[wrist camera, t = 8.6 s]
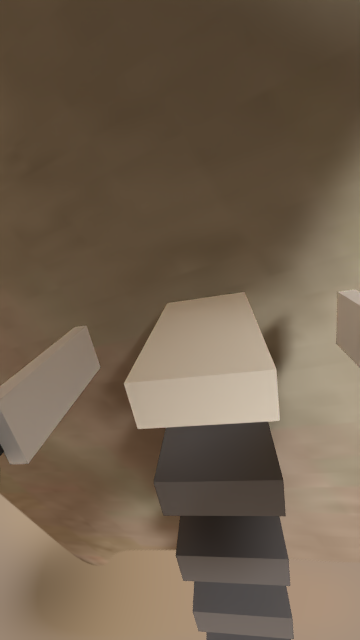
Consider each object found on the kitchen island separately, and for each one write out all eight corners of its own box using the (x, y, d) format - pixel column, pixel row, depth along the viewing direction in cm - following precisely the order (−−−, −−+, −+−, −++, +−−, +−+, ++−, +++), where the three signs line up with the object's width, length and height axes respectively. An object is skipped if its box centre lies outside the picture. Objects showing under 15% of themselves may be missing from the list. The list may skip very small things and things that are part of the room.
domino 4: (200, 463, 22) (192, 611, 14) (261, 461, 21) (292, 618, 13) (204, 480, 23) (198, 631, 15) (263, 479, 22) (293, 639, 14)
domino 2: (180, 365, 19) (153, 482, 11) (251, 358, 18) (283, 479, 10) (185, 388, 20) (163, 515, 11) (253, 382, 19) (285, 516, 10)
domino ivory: (167, 303, 17) (124, 383, 9) (244, 291, 16) (276, 369, 8) (173, 330, 18) (137, 429, 10) (247, 321, 17) (279, 420, 9)
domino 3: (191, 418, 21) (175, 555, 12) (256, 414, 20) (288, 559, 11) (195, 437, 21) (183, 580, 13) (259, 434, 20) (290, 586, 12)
